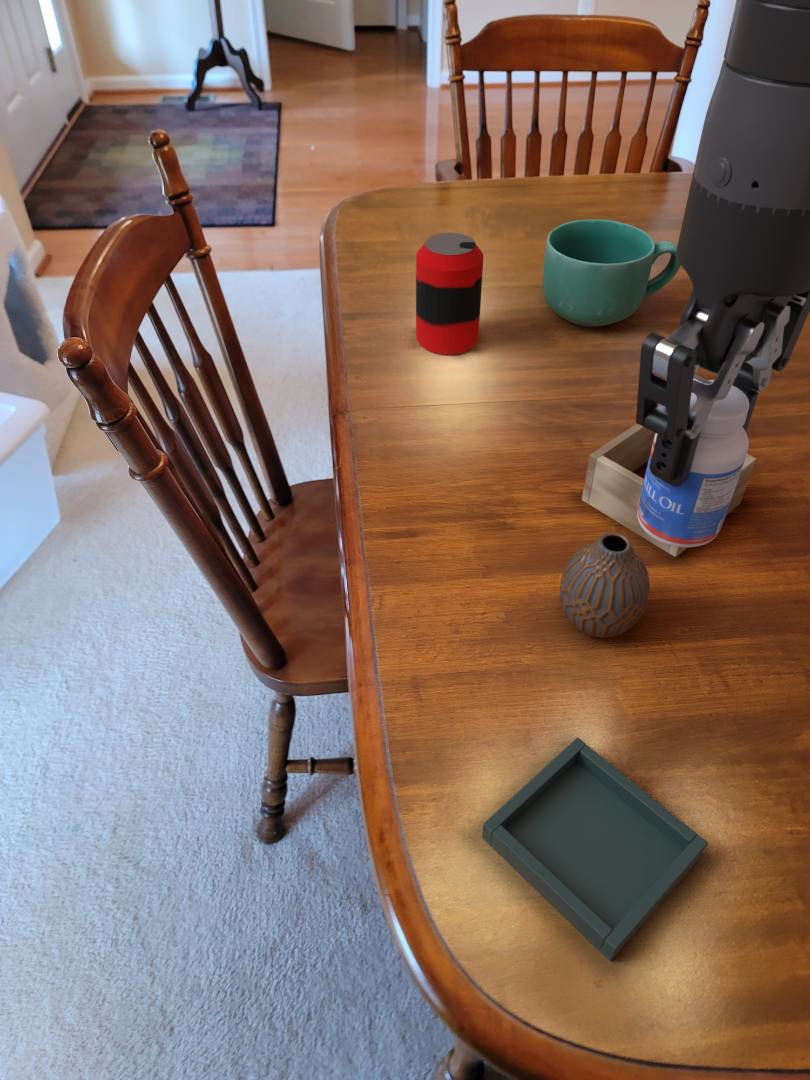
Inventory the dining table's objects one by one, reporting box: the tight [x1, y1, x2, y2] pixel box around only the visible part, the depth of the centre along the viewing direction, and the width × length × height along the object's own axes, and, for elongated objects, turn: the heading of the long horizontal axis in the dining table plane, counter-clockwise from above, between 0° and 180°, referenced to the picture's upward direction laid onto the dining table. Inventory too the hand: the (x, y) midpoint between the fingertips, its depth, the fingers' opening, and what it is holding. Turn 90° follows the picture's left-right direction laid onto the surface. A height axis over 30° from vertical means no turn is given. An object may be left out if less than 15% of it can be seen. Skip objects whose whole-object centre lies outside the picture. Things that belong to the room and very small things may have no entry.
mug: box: [542, 218, 682, 328], centre depth 102 cm, size 17×13×10 cm
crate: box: [581, 423, 757, 558], centre depth 77 cm, size 11×11×6 cm
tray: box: [481, 737, 709, 962], centre depth 54 cm, size 11×10×2 cm
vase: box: [559, 531, 651, 639], centre depth 66 cm, size 7×7×9 cm
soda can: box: [415, 232, 484, 356], centre depth 97 cm, size 8×8×12 cm
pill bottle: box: [637, 379, 749, 548], centre depth 51 cm, size 6×5×10 cm
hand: (696, 456), depth 51 cm, fingers closed on pill bottle, 5 cm apart
